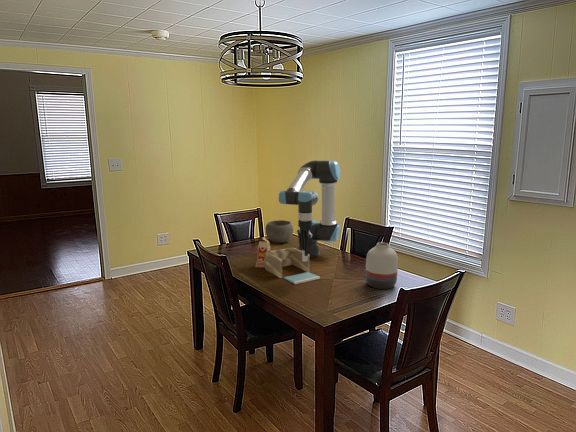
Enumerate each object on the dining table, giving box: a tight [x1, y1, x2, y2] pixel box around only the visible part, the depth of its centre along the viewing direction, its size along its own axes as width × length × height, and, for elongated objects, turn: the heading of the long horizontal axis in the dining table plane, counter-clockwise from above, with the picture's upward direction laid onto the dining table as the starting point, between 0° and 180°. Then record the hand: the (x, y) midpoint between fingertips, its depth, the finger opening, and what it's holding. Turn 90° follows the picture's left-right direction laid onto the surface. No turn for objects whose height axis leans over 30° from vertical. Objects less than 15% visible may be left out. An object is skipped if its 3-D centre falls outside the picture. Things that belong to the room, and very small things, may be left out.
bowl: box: [265, 219, 294, 244], centre depth 323 cm, size 21×21×15 cm
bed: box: [264, 247, 311, 279], centre depth 255 cm, size 20×18×12 cm
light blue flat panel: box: [281, 271, 321, 285], centre depth 243 cm, size 18×1×13 cm
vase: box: [365, 241, 399, 290], centre depth 233 cm, size 17×17×24 cm
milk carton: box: [255, 236, 272, 269], centre depth 264 cm, size 9×9×20 cm
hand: (304, 260), depth 238 cm, fingers closed
